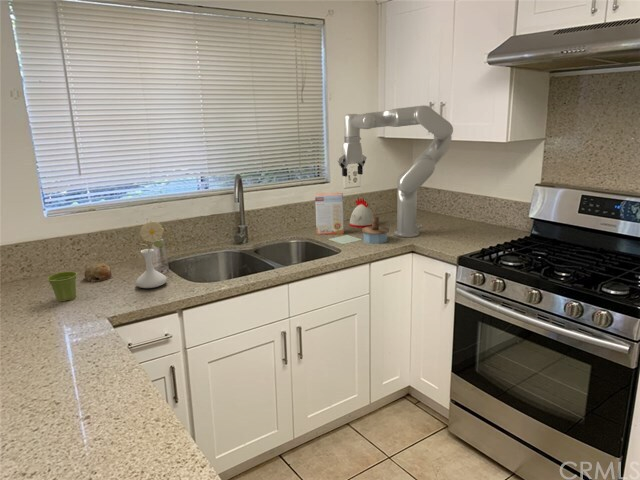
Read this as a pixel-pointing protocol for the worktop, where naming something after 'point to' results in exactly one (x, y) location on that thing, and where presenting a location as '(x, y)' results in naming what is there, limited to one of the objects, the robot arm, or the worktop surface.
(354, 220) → the kitchen timer
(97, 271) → the bread roll
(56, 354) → the worktop surface
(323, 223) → the cracker box
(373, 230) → the lid
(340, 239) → the mat
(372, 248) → the worktop surface
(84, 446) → the worktop surface
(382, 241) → the bowl
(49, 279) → the plant pot
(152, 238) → the flower in vase
